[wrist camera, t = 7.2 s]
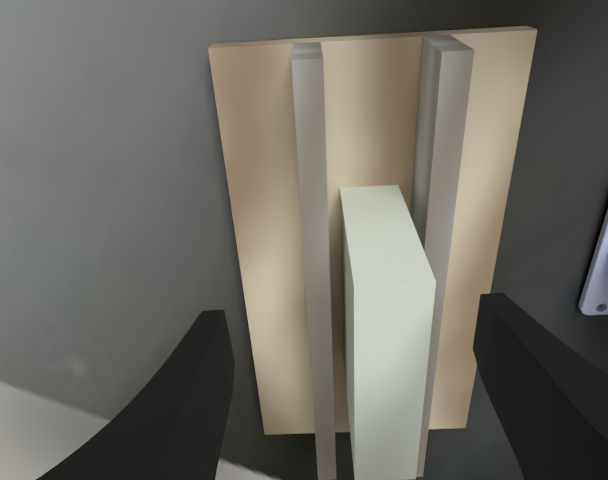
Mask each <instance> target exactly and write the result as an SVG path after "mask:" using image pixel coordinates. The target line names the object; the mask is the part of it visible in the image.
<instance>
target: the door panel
mask: <svg viewBox="0 0 608 480" xmlns="http://www.w3.org/2000/svg"><path fill="white" fill-rule="evenodd" d="M340 228H341V276H342V324H343V361H344V372H345V382H346V393H347V404H348V414H349V425H350V436H351V446H352V457H353V468H354V478H355V480H406V479H416V472H417V463H418V453H419V443H420V434H421V424H422V414H423V405H424V395H425V385H426V376H427V366H428V356H429V347H430V337H431V327H432V318H433V308H434V298H435V289H436V280H435V278H434V275H433V272H432V270H431V267H430V265H429V262H428V260H427V257H426V255H425V252H424V249H423V247H422V244H421V242H420V239H419V237H418V234H417V231H416V229H415V226H414V224H413V221H412V219H411V216H410V214H409V211H408V208H407V206H406V203H405V201H404V198H403V196H402V193H401V191H400V188H399V185H385V186H366V187H346V188H340Z"/></svg>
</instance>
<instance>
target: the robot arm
mask: <svg viewBox="0 0 608 480" xmlns="http://www.w3.org/2000/svg"><path fill="white" fill-rule="evenodd" d="M600 304H602V305H601V306H599V305H600ZM598 306H599V307H598ZM579 309H580V310H581V312H582V313H583V314H585V315H607V314H608V210H607V213H606V216H605V219H604V223H603V226H602V229H601V233H600V236H599V239H598V243H597V246H596V249H595V252H594V256H593V259H592V262H591V266H590V269H589V272H588V275H587V279H586V282H585V285H584V289H583V292H582V295H581V298H580V302H579ZM473 352H474V355H475V359H476V362H477V366H478V369H479V372H480V375H481V378H482V382H483V384H484V386H485V389H486V391H487V393H488V395H489V398H490V400H491V402H492V404H493V407H494V409H495V411H496V413H497V415H498V418H499V420H500V422H501V424H502V426H503V429H504V431H505V433H506V435H507V438H508V440H509V442H510V444H511V446H512V449H513V451H514V453H515V455H516V458H517V460H518V463H519V465H520V468H521V470H522V473H523V476H524V479H525V480H608V374H606V373H605V372H603V371H602V370H600V369H599V368H597V367H596V366H594V365H593V364H591V363H590V362H589V361H587V360H586V359H584V358H583V357H582V356H580V355H579V354H577V353H576V352H575V351H573V350H572V349H571V348H569V347H568V346H567V345H565V344H564V343H563V342H562V341H560V340H559V339H558V338H556V337H555V336H554V335H553V334H551V333H550V332H549V331H548V330H546V329H545V328H544V327H543V326H542V325H540V324H539V323H538V322H537V321H536V320H534V319H533V318H532V317H531V316H530V315H528V314H527V313H526V312H525V311H524V310H523V309H521V308H520V307H519V306H518V305H517V304H516V303H514V302H513V301H512V300H511V299H510V298H508V297H507V296H506V295H505V294H504V293H491V294H480V301H479V308H478V315H477V322H476V329H475V335H474V342H473ZM234 364H235V361H234V356H233V351H232V346H231V342H230V337H229V332H228V327H227V322H226V317H225V312H224V310H210V311H202V312H201V313H200V315H199V316H198V317H197V319H196V320H195V322H194V323H193V325H192V326H191V328H190V329H189V330H188V332H187V333H186V335H185V336H184V338H183V339H182V340H181V342H180V343H179V344H178V346H177V347H176V348H175V350H174V351H173V352H172V354H171V355H170V356H169V358H168V359H167V360H166V362H165V363H164V364H163V365H162V367H161V368H160V369H159V370H158V371H157V373H156V374H155V375H154V376H153V377H152V378H151V380H150V381H149V382H148V383H147V384H146V385H145V387H144V388H143V389H142V390H141V391H140V392H139V393H138V394H137V395H136V397H135V398H134V399H133V400H132V401H131V402H130V403H129V404H128V405H127V406H126V407H125V408H124V409H123V410H122V411H121V412H120V413H119V414H118V415H117V416H116V417H115V418H114V419H113V420H111V421H110V422H109V423H108V424H107V425H106V426H105V427H104V428H102V429H101V430H100V431H99V432H98V433H97V434H96V435H94V436H93V437H92V438H91V439H90V440H89V441H88V442H86V443H85V444H84V445H83V446H81V447H80V448H79V449H77V450H76V451H75V452H74V453H72V454H71V455H70V456H69V457H67V458H66V459H65V460H63V461H62V462H60V463H59V464H58V465H56V466H55V467H54V468H52V469H51V470H49V471H48V472H47V473H45V474H44V475H43V476H41V477H39V478H38V479H36V480H215V476H216V469H217V465H218V460H219V455H220V450H221V446H222V441H223V436H224V431H225V427H226V422H227V417H228V412H229V407H230V402H231V397H232V389H233V378H234Z"/></svg>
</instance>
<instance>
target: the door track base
mask: <svg viewBox="0 0 608 480" xmlns="http://www.w3.org/2000/svg"><path fill="white" fill-rule="evenodd" d="M536 35H537V29H534V28H531V27H529V26H514V27H497V28H479V29H462V30H444V31H426V32H409V33H391V34H374V35H356V36H339V37H321V38H303V39H286V40H268V41H251V42H233V43H215V44H212V45H211V46H210V47H209V48H208V52H209V59H210V66H211V73H212V80H213V86H214V93H215V100H216V107H217V114H218V120H219V127H220V134H221V141H222V148H223V154H224V161H225V168H226V175H227V182H228V188H229V195H230V202H231V209H232V216H233V223H234V229H235V236H236V243H237V250H238V257H239V263H240V270H241V277H242V284H243V291H244V297H245V304H246V311H247V318H248V325H249V332H250V338H251V345H252V352H253V359H254V366H255V372H256V379H257V386H258V393H259V400H260V406H261V413H262V420H263V427H264V434H265V435H272V434H301V433H315V439H316V454H317V470H318V480H331V479H336V451H335V432H350V425H349V414H348V404H347V393H346V382H345V372H344V361H343V324H342V276H341V228H340V188H346V187H366V186H385V185H399V188H400V191H401V193H402V196H403V198H404V201H405V203H406V206H407V208H408V211H409V214H410V216H411V219H412V221H413V224H414V226H415V229H416V231H417V234H418V237H419V239H420V242H421V244H422V247H423V249H424V252H425V255H426V257H427V260H428V262H429V265H430V267H431V270H432V272H433V275H434V278H435V280H436V289H435V298H434V308H433V318H432V327H431V337H430V347H429V356H428V366H427V376H426V385H425V395H424V405H423V414H422V424H421V434H420V443H419V453H418V463H417V472H416V477H423V471H424V462H425V454H426V446H427V438H428V429H449V428H466V422H467V417H468V411H469V406H470V400H471V395H472V389H473V384H474V378H475V373H476V367H477V362H476V359H475V355H474V352H473V342H474V335H475V329H476V322H477V315H478V308H479V301H480V294H490V290H491V284H492V279H493V273H494V268H495V262H496V257H497V251H498V246H499V240H500V234H501V229H502V223H503V218H504V212H505V207H506V201H507V196H508V190H509V185H510V179H511V174H512V168H513V163H514V157H515V151H516V146H517V140H518V135H519V129H520V124H521V118H522V113H523V107H524V102H525V96H526V91H527V85H528V80H529V74H530V69H531V63H532V57H533V52H534V46H535V41H536Z"/></svg>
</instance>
